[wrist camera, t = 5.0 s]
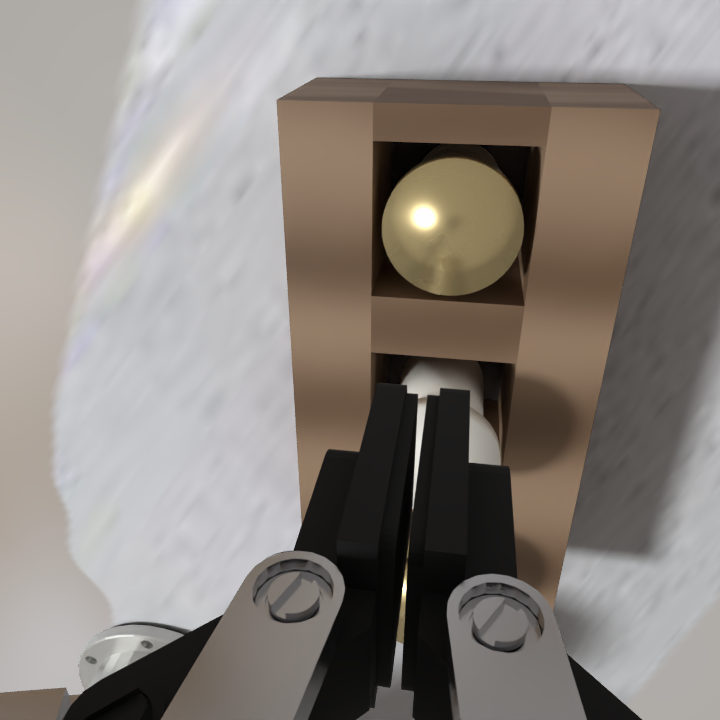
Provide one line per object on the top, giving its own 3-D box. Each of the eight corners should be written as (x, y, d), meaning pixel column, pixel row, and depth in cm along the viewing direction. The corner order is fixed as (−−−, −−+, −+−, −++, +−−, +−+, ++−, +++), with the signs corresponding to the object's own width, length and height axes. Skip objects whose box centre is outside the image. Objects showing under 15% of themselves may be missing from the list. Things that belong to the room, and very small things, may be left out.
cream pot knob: (491, 428, 30) (493, 527, 25) (387, 419, 31) (367, 513, 25) (502, 336, 28) (508, 422, 22) (390, 327, 28) (367, 410, 23)
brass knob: (509, 242, 28) (515, 300, 23) (398, 237, 29) (380, 291, 24) (522, 126, 26) (533, 161, 21) (402, 123, 27) (382, 156, 22)
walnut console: (538, 542, 37) (548, 633, 32) (329, 519, 39) (306, 601, 33) (623, 83, 25) (660, 109, 20) (316, 77, 27) (276, 100, 22)
